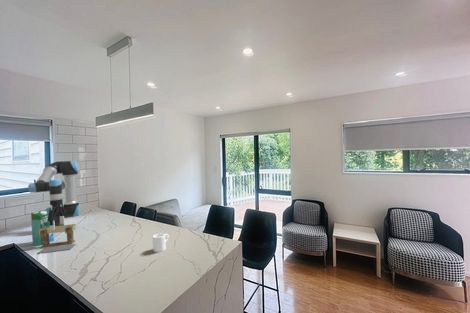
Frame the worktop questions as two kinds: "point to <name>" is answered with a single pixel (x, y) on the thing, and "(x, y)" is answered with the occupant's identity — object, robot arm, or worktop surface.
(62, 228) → the rail
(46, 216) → the milk carton
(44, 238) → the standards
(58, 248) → the mat
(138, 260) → the worktop surface
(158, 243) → the mug
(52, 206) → the robot arm
